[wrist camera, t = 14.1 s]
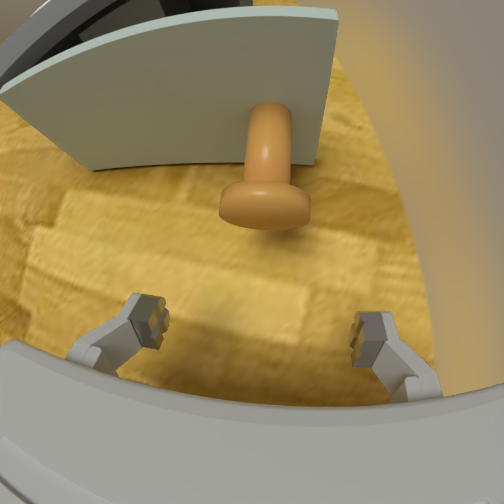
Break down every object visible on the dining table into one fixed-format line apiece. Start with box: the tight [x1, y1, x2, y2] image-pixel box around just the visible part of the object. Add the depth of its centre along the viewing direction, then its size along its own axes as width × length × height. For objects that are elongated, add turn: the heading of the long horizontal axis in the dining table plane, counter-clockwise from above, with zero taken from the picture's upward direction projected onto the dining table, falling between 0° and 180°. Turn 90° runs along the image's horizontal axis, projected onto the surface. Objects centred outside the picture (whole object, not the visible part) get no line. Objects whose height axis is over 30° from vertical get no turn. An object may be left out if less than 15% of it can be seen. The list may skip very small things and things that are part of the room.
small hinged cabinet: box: [0, 0, 253, 90], centre depth 18 cm, size 24×12×14 cm, turn 130°
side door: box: [0, 6, 339, 230], centre depth 15 cm, size 20×7×13 cm, turn 86°
